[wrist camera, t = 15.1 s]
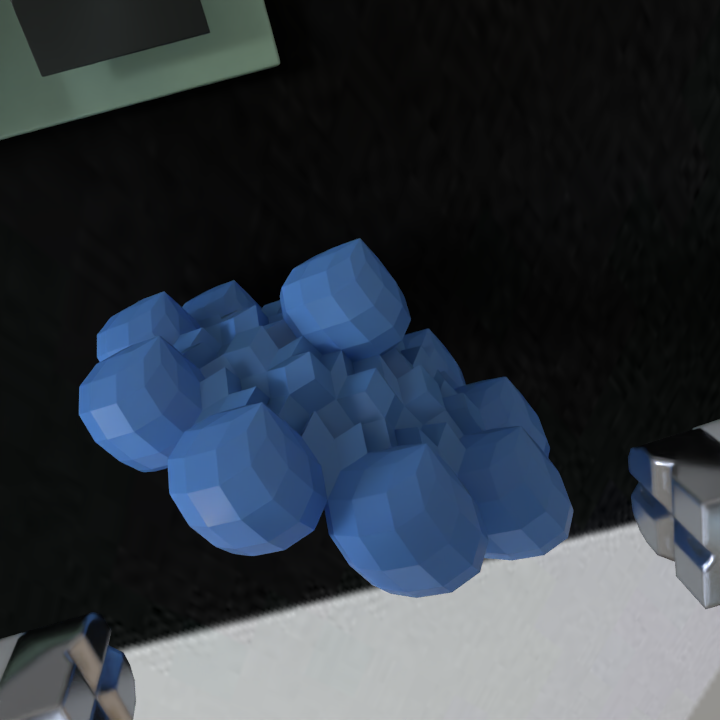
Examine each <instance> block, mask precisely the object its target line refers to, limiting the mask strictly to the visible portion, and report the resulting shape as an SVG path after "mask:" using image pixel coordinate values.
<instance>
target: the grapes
mask: <svg viewBox="0 0 720 720" xmlns="http://www.w3.org/2000/svg"><path fill="white" fill-rule="evenodd" d="M410 321H411V318H410V314H409V311H408V307H407V304H406V300H405V297H404V295H403V293H402V292H401V290H400V288H399V286H398V285H397V283H396V282H395V280H394V279H393V277H392V276H391V275H390V273H389V272H388V271H387V269H386V268H385V267H384V265H383V264H382V263H381V261H380V260H379V259H378V258H377V256H376V255H375V254H374V253H373V252H372V251H371V250H370V249H369V248H368V246H367V245H366V244H365V243H364V242H363V241H362V240H361V239H360V238H359V239H356V240H353V241H350V242H348V243H345V244H342V245H339V246H336V247H334V248H331V249H329V250H327V251H325V252H323V253H320V254H318V255H316V256H314V257H312V258H311V259H309V260H307V261H306V262H304V263H302V264H300V265H299V266H297V267H295V268H294V269H293V270H292V271H291V273H290V275H289V276H288V278H287V280H286V281H285V283H284V285H283V286H282V288H281V293H280V300H278V301H276V302H273V303H270V304H267V305H264V306H263V308H261V307H260V306H259V305H258V304H257V302H256V301H255V300H254V299H253V298H252V297H251V296H250V295H249V294H248V293H247V292H246V291H245V290H244V289H243V288H242V287H241V286H240V285H239V284H238V283H237V282H236V281H235V280H233V281H230V282H227V283H225V284H222V285H219V286H216V287H214V288H212V289H210V290H208V291H206V292H204V293H202V294H200V295H198V296H197V297H195V298H193V299H191V300H190V301H188V302H186V303H185V304H184V306H183V307H181V306H180V305H179V304H178V303H177V302H176V301H174V300H173V299H172V298H171V297H170V296H169V295H168V294H166V293H165V292H161V293H159V294H156V295H153V296H150V297H148V298H145V299H143V300H141V301H139V302H137V303H135V304H134V305H132V306H130V307H128V308H126V309H125V310H123V311H121V312H119V313H118V314H116V315H114V316H112V317H111V318H110V319H109V320H108V322H107V323H106V324H105V325H104V327H103V328H102V329H101V331H100V332H99V333H98V335H97V358H98V360H99V361H100V362H99V363H98V364H96V365H95V367H94V368H93V369H92V371H91V372H90V373H89V375H88V376H87V377H86V379H85V380H84V381H83V383H82V384H81V385H80V387H79V416H80V417H81V419H82V421H83V422H84V424H85V426H86V427H87V429H88V431H89V432H90V434H91V436H92V437H93V439H94V441H95V442H96V443H97V444H99V445H100V446H101V447H102V448H104V449H105V450H106V451H107V452H109V453H110V454H111V455H112V456H114V457H115V458H116V459H117V460H119V461H120V462H122V463H124V464H126V465H129V466H131V467H133V468H135V469H137V470H139V471H141V472H151V471H158V470H162V469H166V468H168V477H169V494H170V495H171V497H172V499H173V500H174V502H175V503H176V505H177V507H178V508H179V510H180V512H181V513H182V515H183V516H184V518H185V520H186V521H187V523H188V524H189V526H190V527H191V528H193V529H194V530H195V531H197V532H198V533H199V534H200V535H202V536H203V537H204V538H205V539H207V540H208V541H209V542H210V543H212V544H213V545H214V546H215V547H218V548H220V549H223V550H225V551H228V552H230V553H233V554H240V555H248V556H256V555H261V554H266V553H272V552H277V551H282V550H285V549H287V548H288V547H290V546H291V545H293V544H294V543H296V542H297V541H299V540H300V539H302V538H303V537H305V536H306V535H308V534H309V533H311V532H312V531H314V530H315V527H316V525H317V523H318V521H319V518H320V516H321V514H322V512H323V509H325V514H326V520H327V526H328V531H329V535H330V536H331V538H332V539H333V541H334V542H335V544H336V545H337V547H338V549H339V550H340V552H341V553H342V555H343V556H344V558H345V559H346V561H347V562H348V564H349V565H350V566H351V567H352V568H353V569H355V570H356V571H357V572H358V573H359V574H360V575H362V576H363V577H364V578H365V579H366V580H367V581H369V582H370V583H371V584H372V585H374V586H376V587H378V588H380V589H382V590H384V591H386V592H388V593H390V594H396V595H403V596H409V597H415V598H418V597H425V596H431V595H438V594H444V593H451V592H453V591H454V590H456V589H457V588H458V587H460V586H461V585H463V584H464V583H465V582H467V581H468V580H470V579H471V578H472V577H474V576H475V575H477V574H478V573H479V572H480V570H481V566H482V563H483V559H484V558H492V559H503V560H517V559H523V558H529V557H535V556H541V555H545V554H546V553H547V552H549V551H550V550H552V549H553V548H554V547H556V546H557V545H558V544H560V543H561V542H563V541H564V540H565V539H567V538H568V534H569V529H570V525H571V520H572V515H573V508H572V506H571V503H570V500H569V498H568V495H567V492H566V490H565V487H564V484H563V482H562V479H561V476H560V474H559V472H558V471H557V469H556V468H555V467H554V465H553V464H552V463H551V461H550V460H549V459H548V455H549V451H550V447H549V444H548V442H547V439H546V436H545V434H544V431H543V428H542V426H541V423H540V420H539V418H538V415H537V414H536V413H535V411H534V410H533V409H532V407H531V406H530V405H529V404H528V402H527V401H526V400H525V398H524V397H523V396H522V394H521V393H520V392H519V391H518V390H517V389H516V387H515V386H514V385H513V384H512V383H511V382H510V381H509V379H508V378H507V377H501V378H495V379H489V380H483V381H479V382H476V383H472V384H468V385H466V384H465V381H464V378H463V374H462V372H461V370H460V368H459V366H458V364H457V363H456V361H455V360H454V358H453V357H452V356H451V354H450V353H449V352H448V350H447V349H446V348H445V346H444V345H443V344H442V343H441V341H440V340H439V339H438V338H437V337H436V336H435V335H434V334H433V333H432V332H431V330H430V329H429V328H428V329H424V330H421V331H417V332H413V333H409V334H406V335H405V332H406V330H407V328H408V326H409V323H410Z"/></svg>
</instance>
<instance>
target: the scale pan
mask: <svg viewBox="0 0 720 720" xmlns="http://www.w3.org/2000/svg"><path fill="white" fill-rule="evenodd" d="M10 1H11V4H12V6H13V9H14V11H15V14H16V16H17V18H18V21H19V23H20V26H21V28H22V30H23V33H24V35H25V38H26V40H27V43H28V45H29V47H30V50H31V52H32V55H33V57H34V59H35V62H36V64H37V67H38V69H39V71H40V74H41V76H42V77H46V76H49V75H53V74H57V73H61V72H65V71H69V70H72V69H76V68H80V67H84V66H88V65H91V64H95V63H99V62H103V61H107V60H110V59H114V58H118V57H122V56H126V55H129V54H133V53H137V52H141V51H145V50H148V49H152V48H156V47H160V46H164V45H167V44H171V43H175V42H179V41H183V40H186V39H190V38H194V37H198V36H202V35H205V34H209V33H210V29H209V26H208V23H207V19H206V16H205V13H204V10H203V6H202V3H201V0H10Z"/></svg>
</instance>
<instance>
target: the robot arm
mask: <svg viewBox="0 0 720 720" xmlns="http://www.w3.org/2000/svg"><path fill="white" fill-rule="evenodd" d="M628 459H629V472H630V473H631V474H632V475H633V476H634V477H635V478H636V479H637V480H638V481H639V483H638V484H637V486H636V488H635V490H634V491H633V493H632V495H631V498H632V507H633V514H634V517H635V519H636V522H637V525H638V527H639V530H640V532H641V534H642V535H643V537H644V538H645V540H646V542H647V543H648V544H649V546H650V547H651V548H652V549H653V550H654V551H655V553H656V554H657V555H659V556H661V557H664V558H667V559H669V560H672V561H675V568H676V577H677V578H678V579H679V580H680V581H681V582H682V583H683V584H684V585H685V587H686V588H687V589H688V590H689V591H690V592H691V593H692V594H693V596H694V597H695V598H696V599H697V600H698V601H699V602H700V603H701V604H702V606H703V607H704V608H705V609H708V608H712V607H715V606H718V605H720V419H719V420H716V421H713V422H710V423H707V424H704V425H701V426H698V427H695V428H693V430H689V431H686V432H683V433H679V434H676V435H673V436H670V437H667V438H663V439H660V440H657V441H654V442H650V443H647V444H644V445H641V446H638V447H634V448H631V450H630V454H629V457H628ZM110 634H111V630H110V628H109V626H108V625H107V623H106V621H105V620H104V618H103V617H102V615H101V614H97V613H90V614H86V615H82V616H79V617H75V618H72V619H68V620H65V621H61V622H58V623H54V624H50V625H47V626H43V627H40V628H36V629H33V630H29V631H26V632H25V633H20V634H17V635H13V636H10V637H6V638H3V639H0V720H133V717H134V711H135V704H136V695H135V680H134V677H133V673H132V670H131V667H130V664H129V662H128V660H127V658H126V657H125V655H124V653H123V652H121V651H119V650H117V649H115V648H113V647H110V646H108V642H109V638H110Z"/></svg>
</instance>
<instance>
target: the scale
mask: <svg viewBox="0 0 720 720" xmlns="http://www.w3.org/2000/svg"><path fill="white" fill-rule="evenodd" d="M201 3H202V6H203V10H204V13H205V16H206V19H207V23H208V26H209V29H210V33H209V34H205V35H202V36H198V37H194V38H190V39H186V40H183V41H179V42H175V43H171V44H167V45H164V46H160V47H156V48H152V49H148V50H145V51H141V52H137V53H133V54H129V55H126V56H122V57H118V58H114V59H110V60H107V61H103V62H99V63H95V64H91V65H88V66H84V67H80V68H76V69H72V70H69V71H65V72H61V73H57V74H53V75H49V76H46V77H42V76H41V74H40V71H39V69H38V67H37V64H36V62H35V59H34V57H33V55H32V52H31V50H30V47H29V45H28V43H27V40H26V38H25V35H24V33H23V30H22V28H21V26H20V23H19V21H18V18H17V16H16V14H15V11H14V9H13V6H12V4H11V1H10V0H0V140H3V139H7V138H10V137H14V136H18V135H22V134H25V133H29V132H33V131H37V130H40V129H44V128H48V127H52V126H55V125H59V124H63V123H67V122H70V121H74V120H78V119H82V118H85V117H89V116H93V115H97V114H100V113H104V112H108V111H112V110H115V109H119V108H123V107H127V106H130V105H134V104H138V103H142V102H145V101H149V100H153V99H157V98H160V97H164V96H168V95H172V94H175V93H179V92H183V91H187V90H190V89H194V88H198V87H202V86H205V85H209V84H213V83H217V82H220V81H224V80H228V79H232V78H235V77H239V76H243V75H247V74H250V73H254V72H258V71H262V70H265V69H269V68H273V67H276V66H278V65H279V64H280V59H279V55H278V51H277V48H276V44H275V40H274V36H273V33H272V29H271V25H270V21H269V18H268V14H267V10H266V7H265V3H264V0H201Z"/></svg>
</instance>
